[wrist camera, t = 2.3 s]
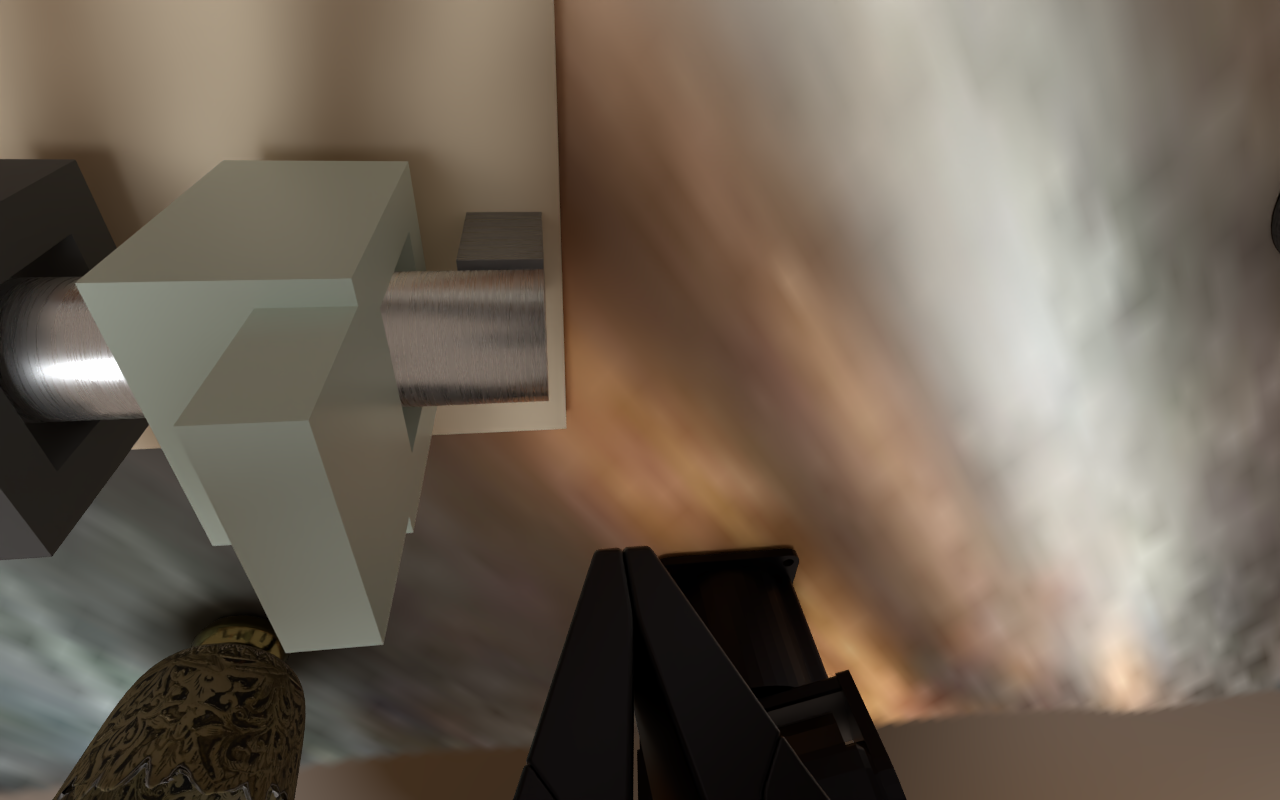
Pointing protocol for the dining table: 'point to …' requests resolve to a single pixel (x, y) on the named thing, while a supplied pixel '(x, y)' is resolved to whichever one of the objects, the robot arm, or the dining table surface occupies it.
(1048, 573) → the dining table surface
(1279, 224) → the coffee cup
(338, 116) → the base board
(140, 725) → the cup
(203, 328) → the sleeve
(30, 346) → the steel pipe
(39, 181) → the rubber collar
